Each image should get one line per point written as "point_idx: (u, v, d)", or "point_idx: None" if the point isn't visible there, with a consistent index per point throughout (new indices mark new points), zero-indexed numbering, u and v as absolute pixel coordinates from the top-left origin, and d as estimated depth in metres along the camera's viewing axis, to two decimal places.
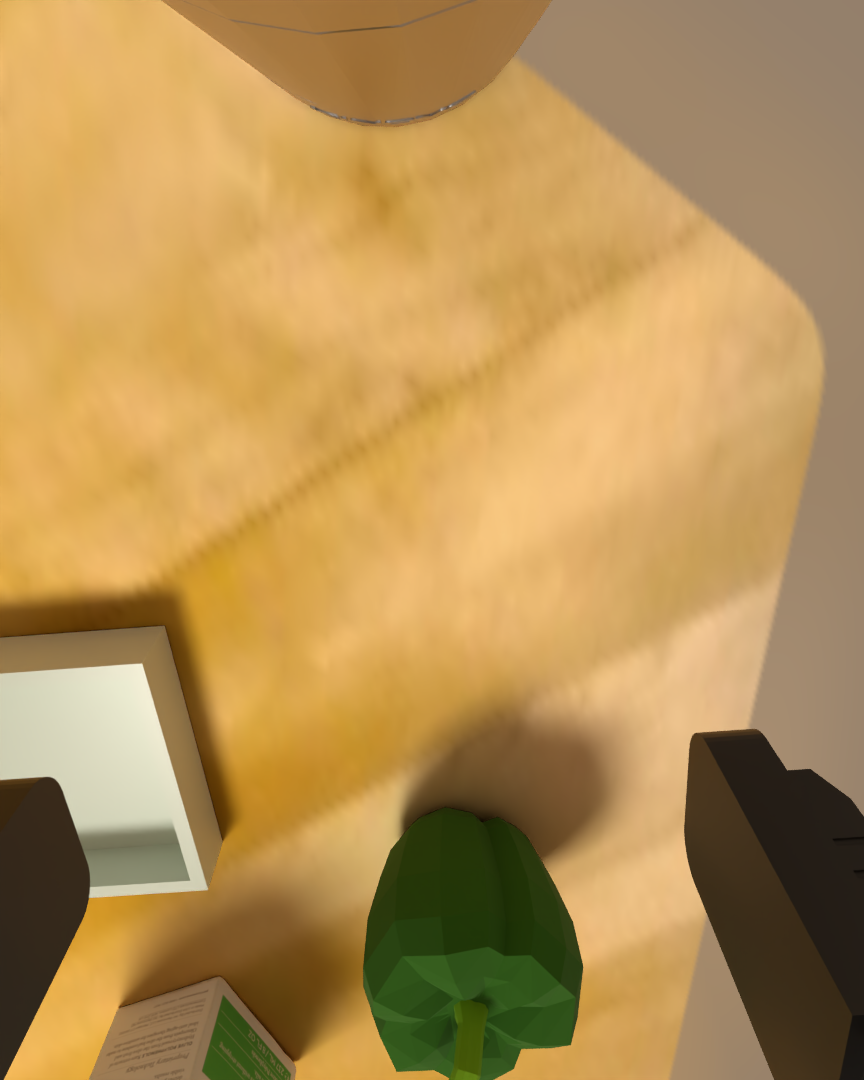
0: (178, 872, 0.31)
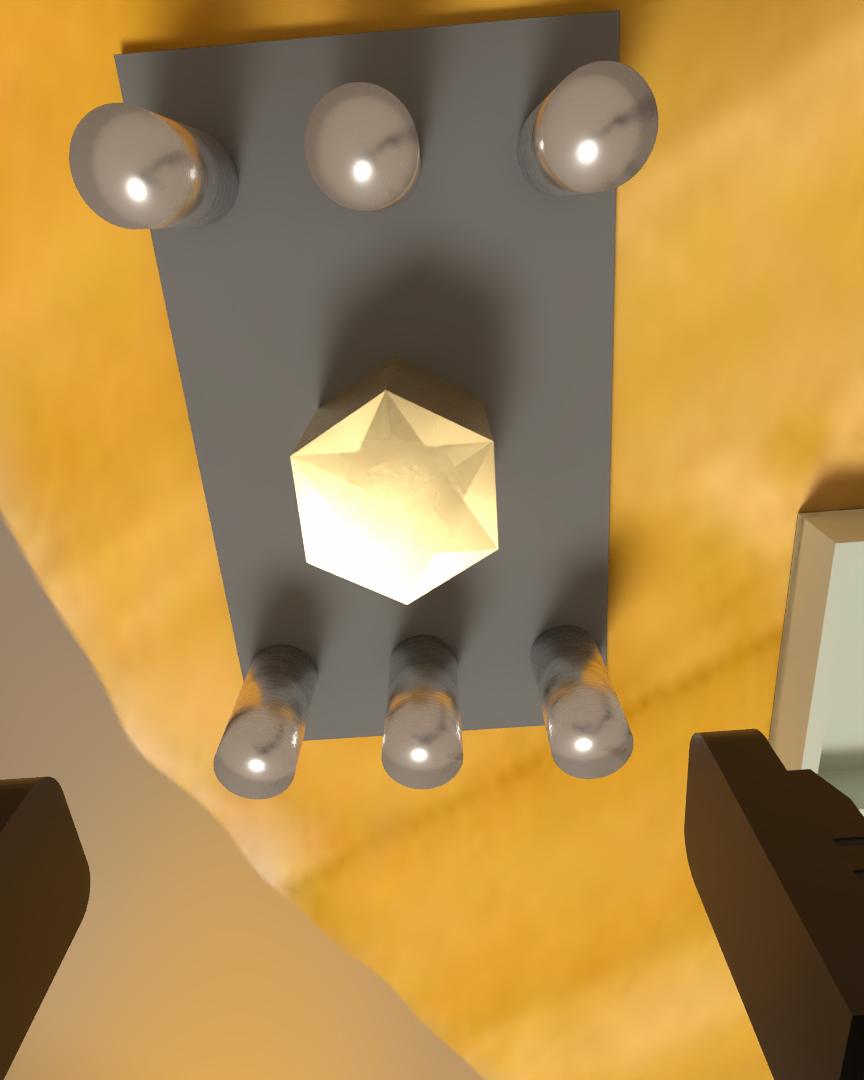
0: None
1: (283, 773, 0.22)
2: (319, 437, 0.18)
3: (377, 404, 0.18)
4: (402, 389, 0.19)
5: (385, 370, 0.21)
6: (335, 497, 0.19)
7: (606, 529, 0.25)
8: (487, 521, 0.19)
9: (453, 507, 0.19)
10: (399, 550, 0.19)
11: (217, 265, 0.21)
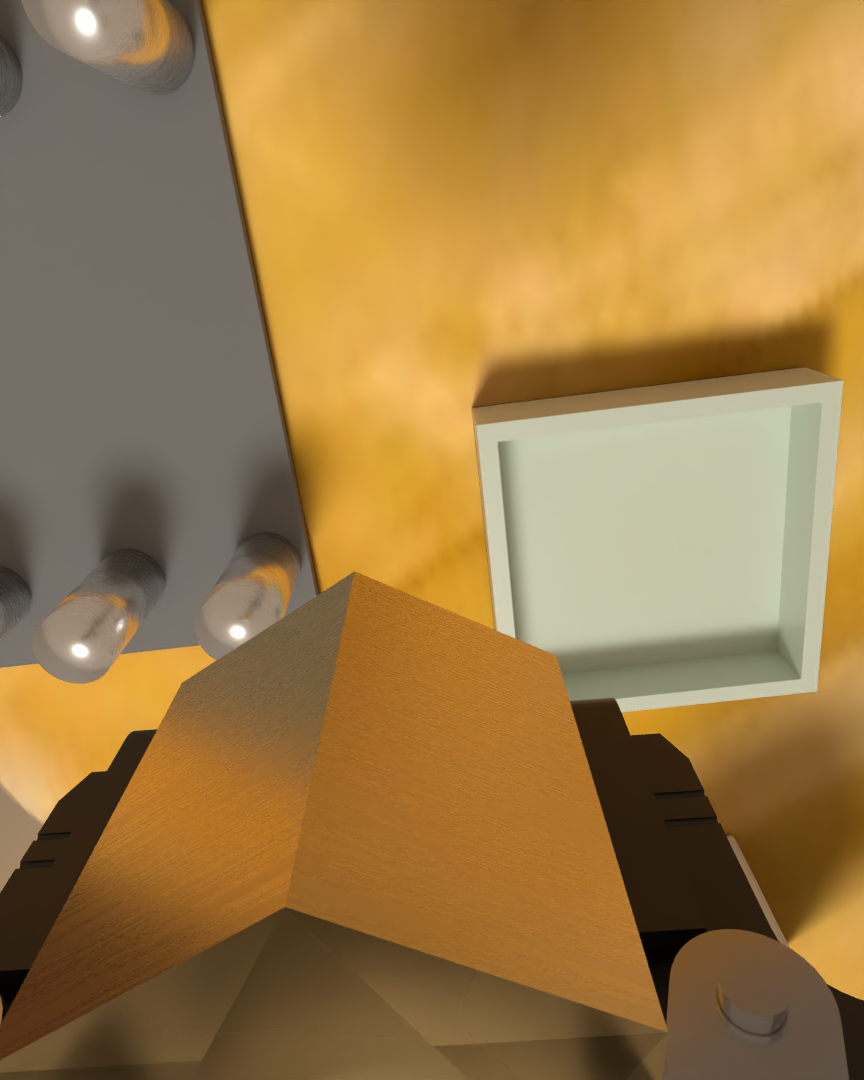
0: (778, 673, 0.27)
1: None
2: (62, 1032, 0.05)
3: (257, 946, 0.05)
4: (355, 821, 0.06)
5: (322, 660, 0.08)
6: None
7: (280, 431, 0.25)
8: None
9: None
10: None
11: None
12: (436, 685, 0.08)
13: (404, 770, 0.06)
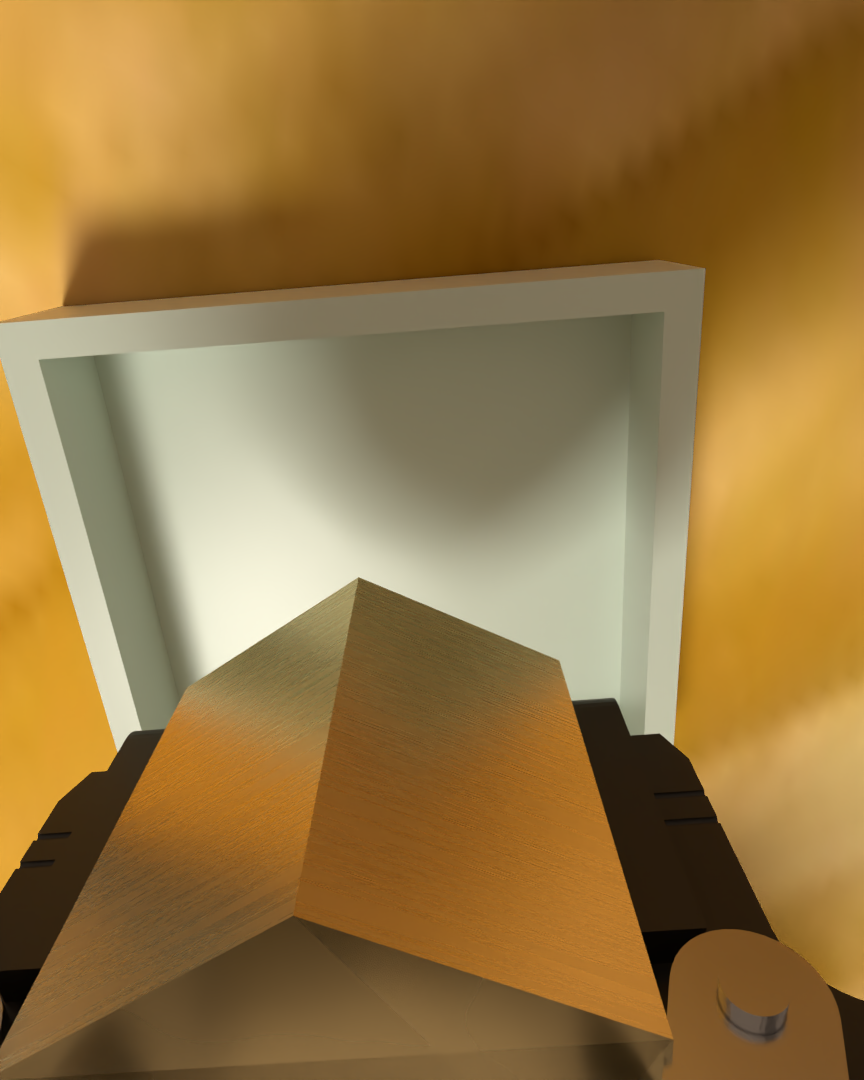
0: None
1: None
2: (71, 1039, 0.05)
3: (265, 954, 0.05)
4: (361, 829, 0.06)
5: (326, 666, 0.08)
6: None
7: None
8: None
9: None
10: None
11: None
12: (440, 691, 0.08)
13: (409, 777, 0.07)
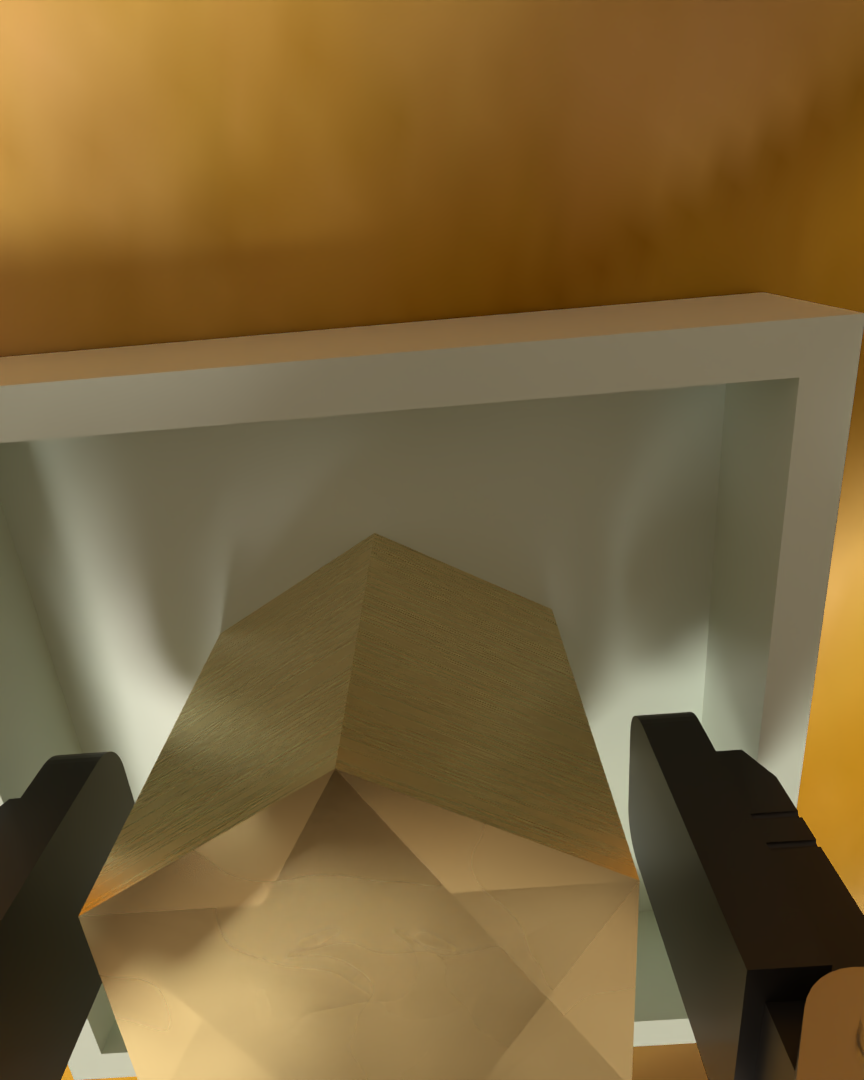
0: None
1: None
2: (153, 878, 0.06)
3: (312, 802, 0.06)
4: (386, 717, 0.07)
5: (350, 601, 0.09)
6: (210, 998, 0.07)
7: None
8: (608, 1038, 0.07)
9: (522, 1014, 0.07)
10: None
11: None
12: (448, 624, 0.09)
13: (424, 684, 0.08)
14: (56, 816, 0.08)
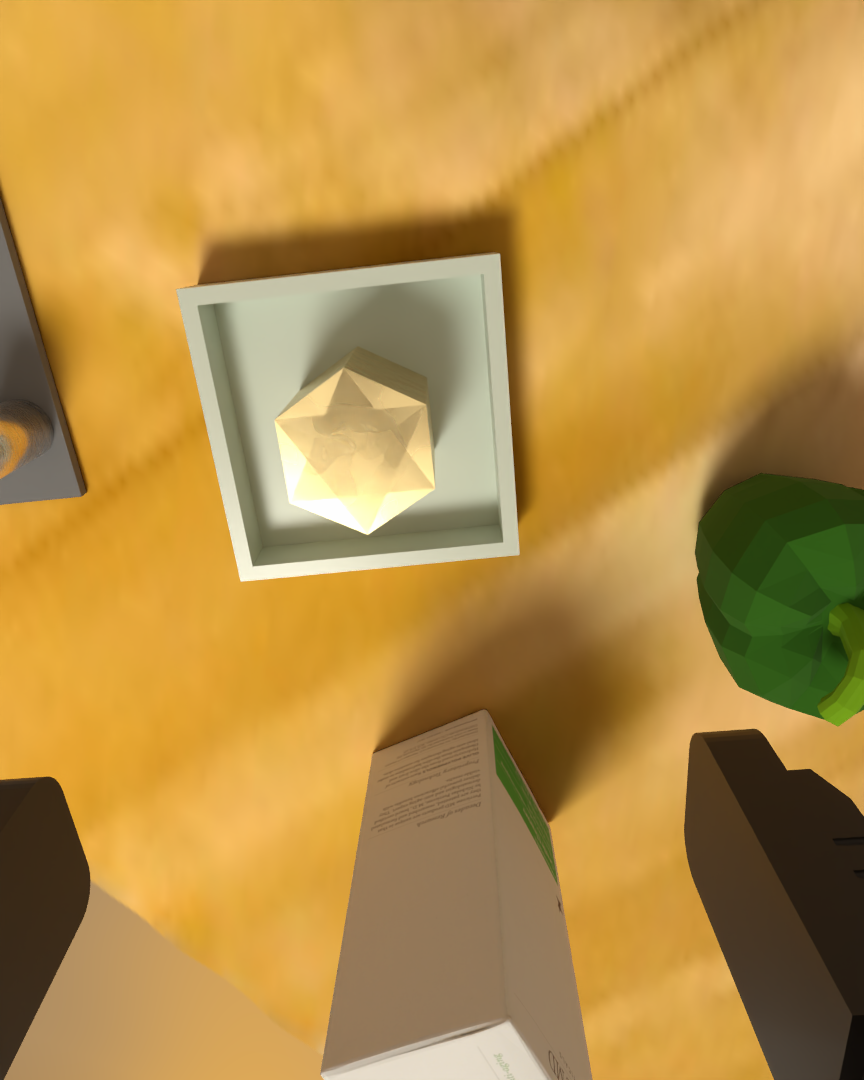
0: (486, 539, 0.30)
1: None
2: (295, 404, 0.24)
3: (338, 378, 0.24)
4: (358, 368, 0.25)
5: (348, 356, 0.27)
6: (309, 451, 0.25)
7: (21, 301, 0.28)
8: (425, 467, 0.25)
9: (399, 456, 0.25)
10: (359, 491, 0.25)
11: None
12: (381, 365, 0.27)
13: (370, 369, 0.26)
14: None
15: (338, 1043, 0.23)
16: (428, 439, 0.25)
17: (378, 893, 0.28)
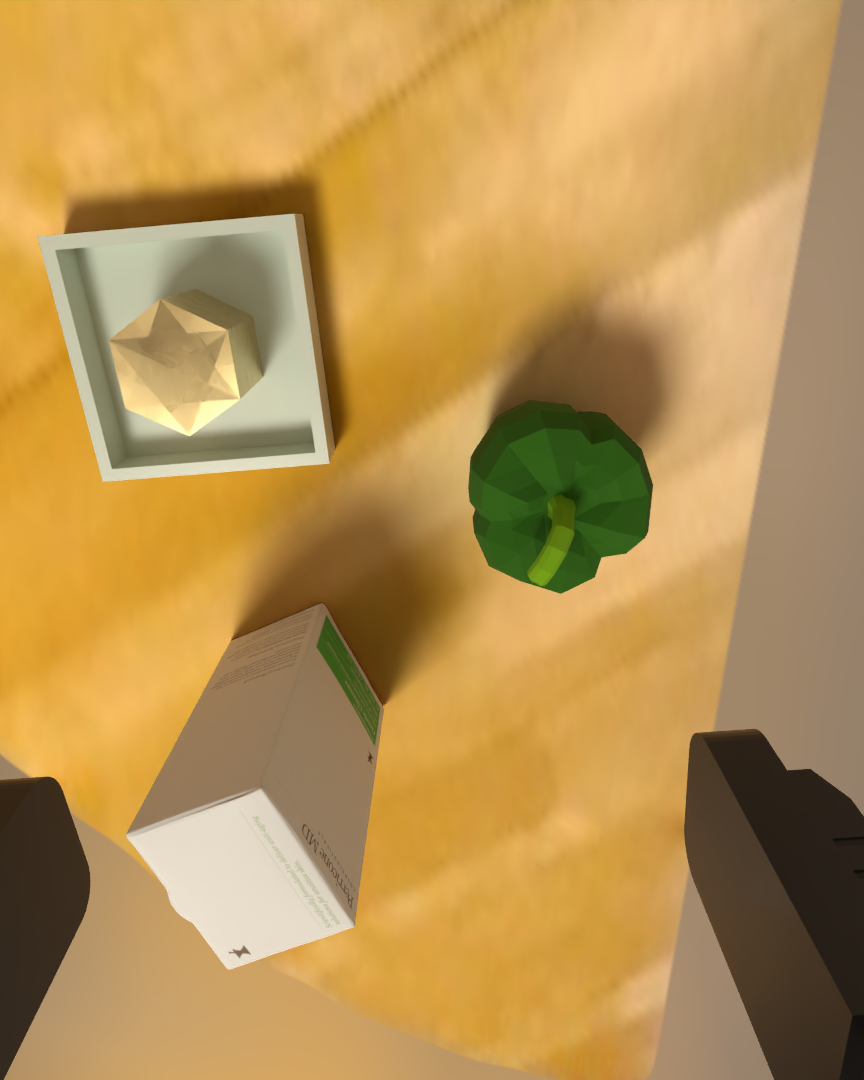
0: (304, 450, 0.37)
1: None
2: (124, 328, 0.31)
3: (156, 307, 0.31)
4: (176, 301, 0.32)
5: None
6: (138, 366, 0.32)
7: None
8: (231, 381, 0.32)
9: (209, 372, 0.32)
10: (180, 400, 0.32)
11: None
12: (207, 303, 0.34)
13: (190, 303, 0.32)
14: None
15: (143, 816, 0.30)
16: (231, 358, 0.32)
17: (201, 727, 0.35)
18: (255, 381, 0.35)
